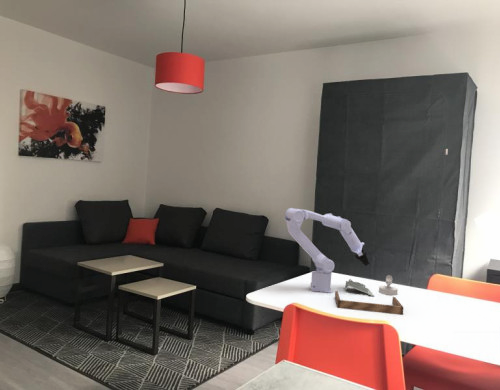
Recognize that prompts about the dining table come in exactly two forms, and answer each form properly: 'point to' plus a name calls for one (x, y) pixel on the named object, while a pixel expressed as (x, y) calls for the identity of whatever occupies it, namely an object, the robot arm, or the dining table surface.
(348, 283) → the metal bracket
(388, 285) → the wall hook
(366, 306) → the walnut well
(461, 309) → the dining table surface
